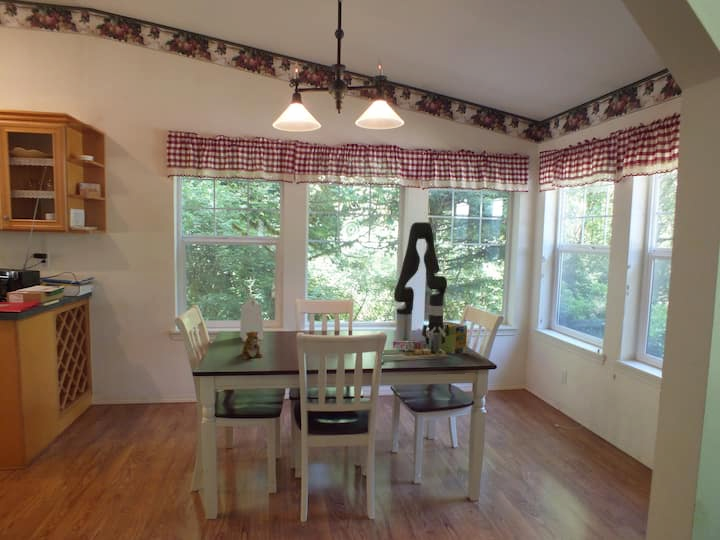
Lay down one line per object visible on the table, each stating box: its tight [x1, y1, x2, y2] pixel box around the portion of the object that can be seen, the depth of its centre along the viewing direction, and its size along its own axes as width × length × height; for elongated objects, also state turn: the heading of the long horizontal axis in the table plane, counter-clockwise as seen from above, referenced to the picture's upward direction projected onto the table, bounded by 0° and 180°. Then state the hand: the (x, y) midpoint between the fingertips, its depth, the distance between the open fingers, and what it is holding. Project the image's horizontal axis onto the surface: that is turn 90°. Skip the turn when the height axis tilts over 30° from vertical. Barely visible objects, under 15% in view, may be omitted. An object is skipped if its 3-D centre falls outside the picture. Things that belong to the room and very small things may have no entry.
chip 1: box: [412, 349, 422, 355], centre depth 234 cm, size 4×4×3 cm
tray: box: [382, 348, 405, 364], centre depth 231 cm, size 12×12×4 cm
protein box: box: [437, 320, 468, 355], centre depth 247 cm, size 10×15×16 cm
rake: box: [430, 333, 439, 355], centre depth 236 cm, size 6×3×11 cm, turn 13°
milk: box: [239, 294, 264, 342], centre depth 266 cm, size 12×12×26 cm
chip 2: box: [421, 348, 431, 355], centre depth 235 cm, size 4×4×3 cm
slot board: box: [397, 349, 449, 361], centre depth 235 cm, size 13×24×3 cm, turn 103°
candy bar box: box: [392, 339, 429, 351], centre depth 244 cm, size 11×5×16 cm
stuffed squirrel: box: [241, 332, 263, 360], centre depth 231 cm, size 10×14×13 cm
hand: (435, 343), depth 236 cm, fingers open, 8 cm apart
